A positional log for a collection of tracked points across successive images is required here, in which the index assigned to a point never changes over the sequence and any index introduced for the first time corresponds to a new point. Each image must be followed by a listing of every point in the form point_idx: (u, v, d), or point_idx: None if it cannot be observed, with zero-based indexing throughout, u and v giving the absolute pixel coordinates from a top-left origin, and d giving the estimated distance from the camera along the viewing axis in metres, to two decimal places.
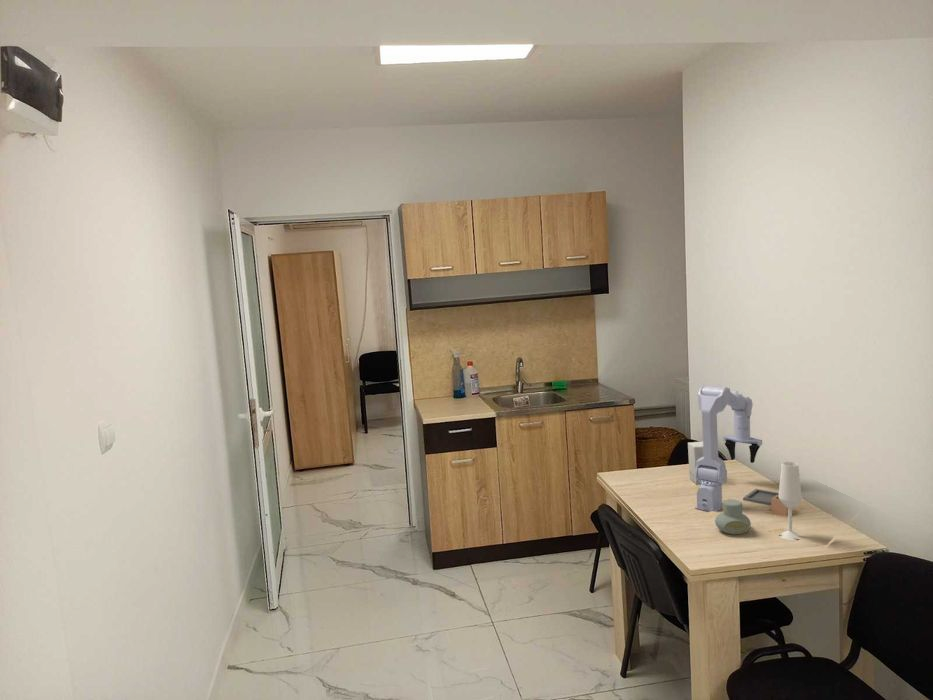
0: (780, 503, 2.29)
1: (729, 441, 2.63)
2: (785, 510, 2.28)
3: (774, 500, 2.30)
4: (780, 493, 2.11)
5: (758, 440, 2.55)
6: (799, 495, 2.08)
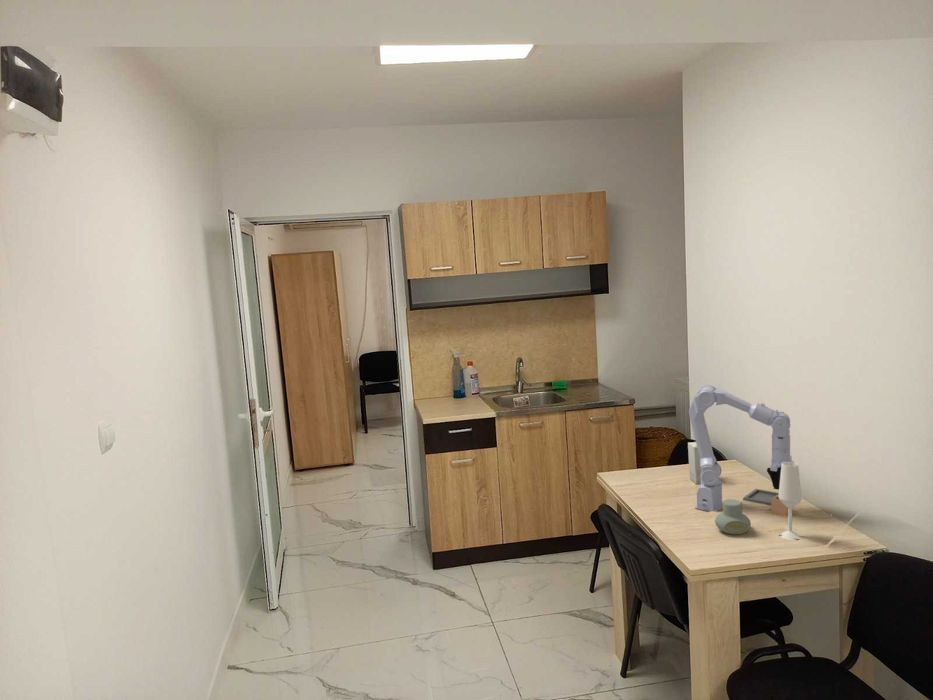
0: (780, 503, 2.29)
1: None
2: (785, 510, 2.28)
3: (774, 500, 2.30)
4: (780, 493, 2.11)
5: (774, 465, 2.25)
6: (799, 495, 2.08)
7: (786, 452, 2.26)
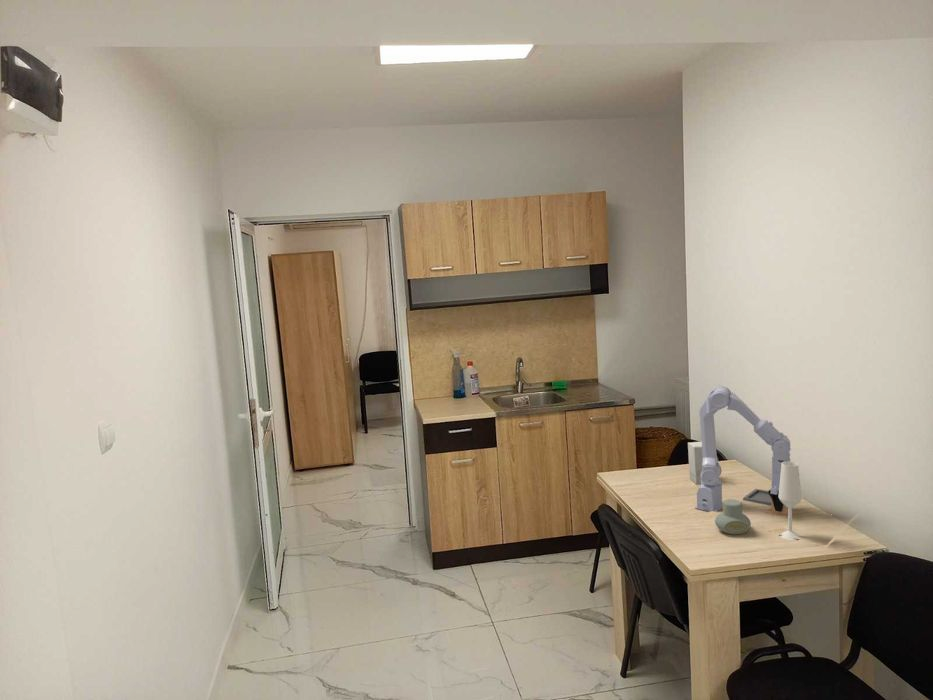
0: None
1: None
2: (785, 510, 2.28)
3: None
4: (780, 493, 2.11)
5: (774, 488, 2.26)
6: (799, 495, 2.08)
7: None
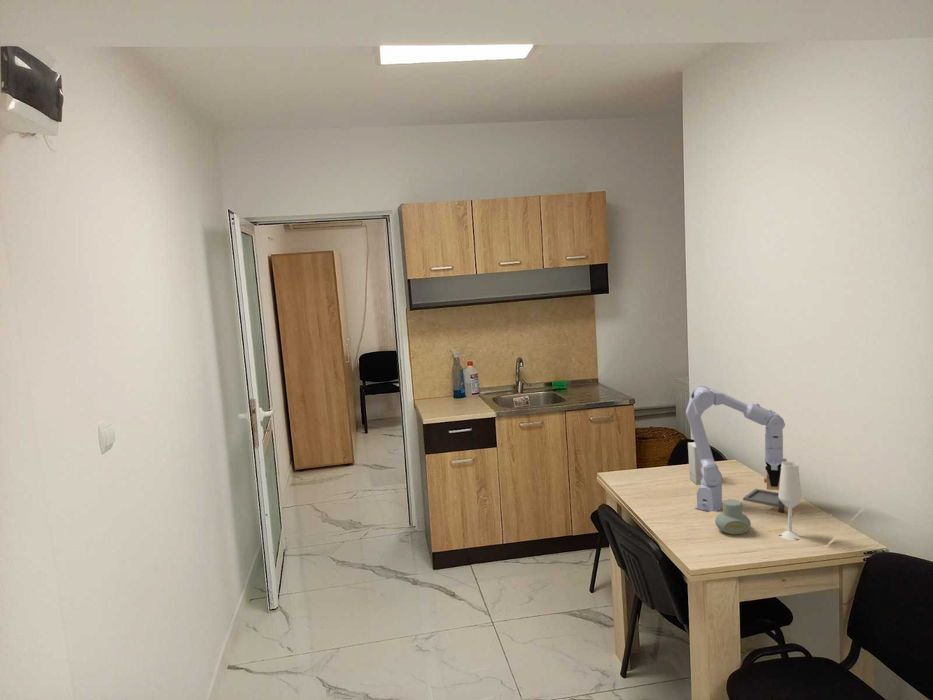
0: None
1: None
2: None
3: None
4: (780, 493, 2.11)
5: (774, 464, 2.30)
6: (799, 495, 2.08)
7: (781, 450, 2.33)
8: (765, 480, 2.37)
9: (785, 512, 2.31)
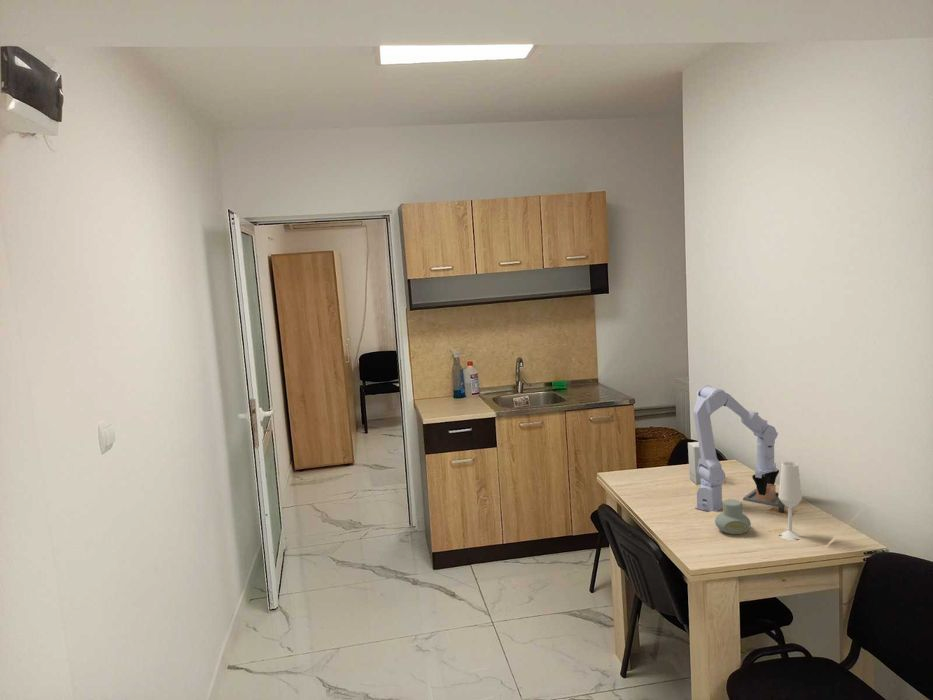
0: None
1: None
2: (769, 497, 2.42)
3: None
4: (780, 493, 2.11)
5: (758, 472, 2.39)
6: (799, 495, 2.08)
7: (770, 460, 2.40)
8: None
9: (785, 512, 2.31)
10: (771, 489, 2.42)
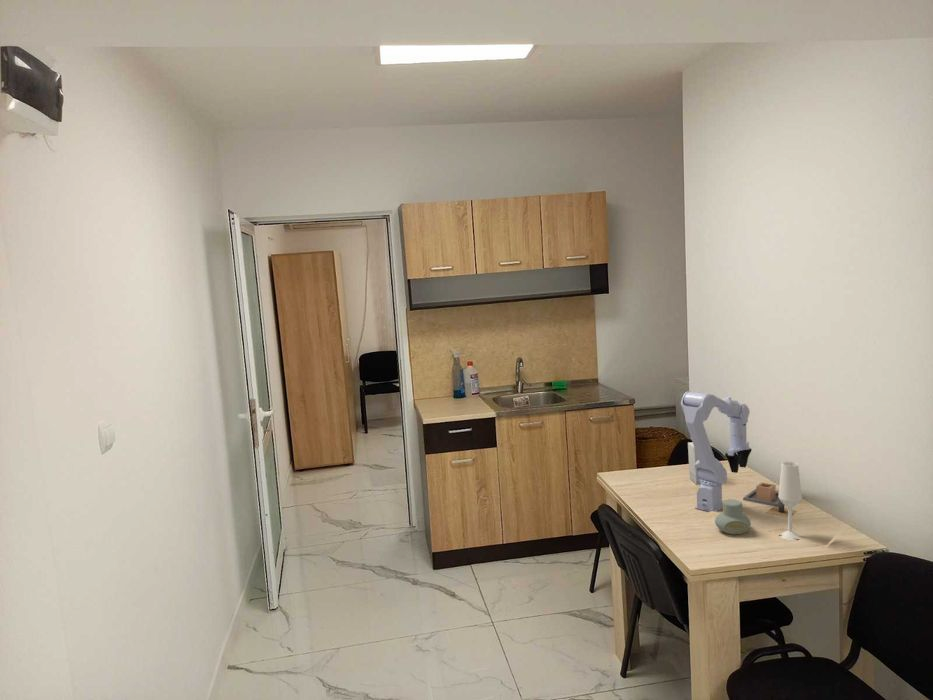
0: (764, 490, 2.42)
1: None
2: (769, 497, 2.42)
3: (759, 487, 2.44)
4: (780, 493, 2.11)
5: (731, 450, 2.46)
6: (799, 495, 2.08)
7: (742, 438, 2.47)
8: None
9: (785, 512, 2.31)
10: (771, 489, 2.42)
